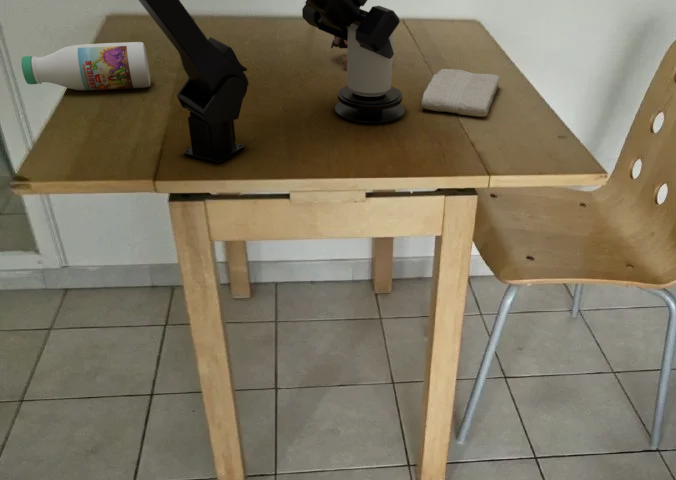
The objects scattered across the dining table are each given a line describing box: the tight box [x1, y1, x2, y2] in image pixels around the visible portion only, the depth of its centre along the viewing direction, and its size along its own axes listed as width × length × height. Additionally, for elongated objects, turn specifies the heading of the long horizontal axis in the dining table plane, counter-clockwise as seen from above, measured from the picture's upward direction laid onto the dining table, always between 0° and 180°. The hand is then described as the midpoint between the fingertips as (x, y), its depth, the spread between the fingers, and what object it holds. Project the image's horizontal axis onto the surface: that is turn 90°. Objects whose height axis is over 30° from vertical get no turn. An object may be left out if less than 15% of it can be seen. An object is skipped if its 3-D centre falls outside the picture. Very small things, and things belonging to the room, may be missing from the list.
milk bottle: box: [21, 41, 151, 91], centre depth 124 cm, size 8×8×20 cm
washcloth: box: [421, 68, 501, 118], centre depth 129 cm, size 12×18×3 cm, turn 167°
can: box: [346, 24, 395, 97], centre depth 117 cm, size 8×8×12 cm
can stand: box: [334, 85, 406, 126], centre depth 122 cm, size 12×12×3 cm
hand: (376, 50), depth 118 cm, fingers closed on can, 7 cm apart
